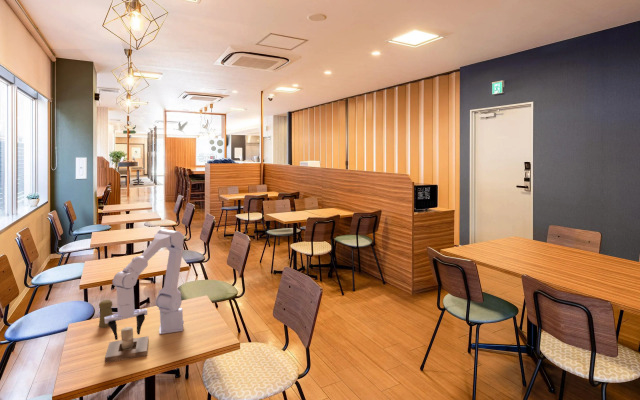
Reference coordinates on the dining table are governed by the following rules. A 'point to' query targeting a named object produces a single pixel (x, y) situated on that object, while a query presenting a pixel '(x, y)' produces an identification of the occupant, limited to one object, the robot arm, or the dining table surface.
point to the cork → (105, 312)
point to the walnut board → (116, 354)
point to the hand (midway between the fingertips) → (127, 336)
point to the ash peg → (127, 338)
